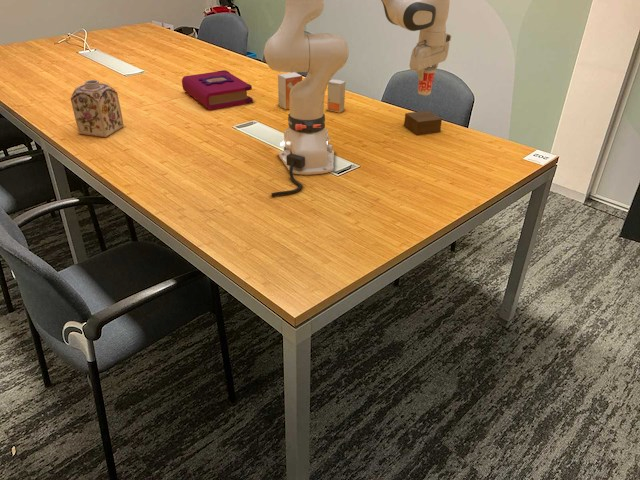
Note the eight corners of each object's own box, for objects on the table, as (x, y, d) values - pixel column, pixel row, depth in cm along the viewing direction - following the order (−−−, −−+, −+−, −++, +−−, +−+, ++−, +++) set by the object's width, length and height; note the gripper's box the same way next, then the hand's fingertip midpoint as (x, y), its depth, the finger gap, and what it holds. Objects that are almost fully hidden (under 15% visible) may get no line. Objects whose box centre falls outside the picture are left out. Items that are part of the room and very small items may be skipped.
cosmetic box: (326, 110, 216) (327, 81, 209) (331, 107, 219) (332, 78, 212) (340, 113, 213) (341, 83, 207) (344, 110, 216) (345, 81, 210)
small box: (285, 110, 215) (285, 78, 208) (278, 105, 220) (277, 74, 212) (302, 106, 219) (302, 75, 212) (294, 102, 223) (294, 71, 216)
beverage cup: (431, 90, 196) (437, 52, 188) (433, 96, 191) (439, 57, 183) (415, 90, 196) (420, 51, 188) (416, 95, 191) (421, 56, 183)
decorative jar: (125, 126, 197) (115, 78, 187) (106, 138, 188) (95, 87, 178) (97, 123, 200) (86, 75, 190) (77, 134, 190) (65, 84, 180)
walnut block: (440, 131, 198) (442, 119, 195) (416, 135, 195) (418, 122, 192) (426, 122, 206) (428, 110, 203) (403, 125, 203) (405, 113, 200)
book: (207, 111, 213) (205, 92, 209) (183, 92, 233) (180, 75, 228) (253, 102, 222) (253, 84, 218) (226, 85, 242) (225, 68, 238)
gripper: (423, 45, 175) (418, 86, 182) (453, 35, 187) (447, 74, 195) (407, 41, 178) (403, 82, 186) (438, 32, 191) (433, 70, 199)
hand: (426, 78), depth 191 cm, fingers closed on beverage cup, 6 cm apart
